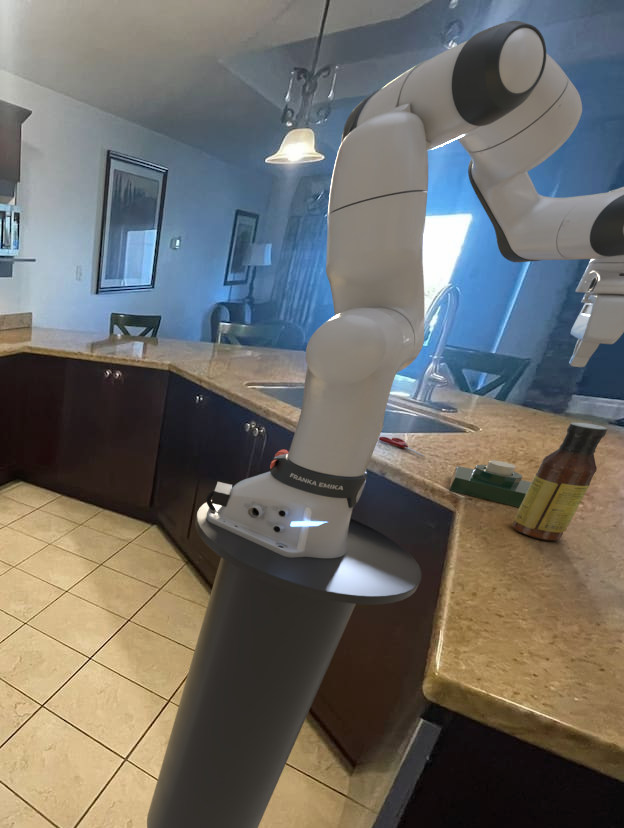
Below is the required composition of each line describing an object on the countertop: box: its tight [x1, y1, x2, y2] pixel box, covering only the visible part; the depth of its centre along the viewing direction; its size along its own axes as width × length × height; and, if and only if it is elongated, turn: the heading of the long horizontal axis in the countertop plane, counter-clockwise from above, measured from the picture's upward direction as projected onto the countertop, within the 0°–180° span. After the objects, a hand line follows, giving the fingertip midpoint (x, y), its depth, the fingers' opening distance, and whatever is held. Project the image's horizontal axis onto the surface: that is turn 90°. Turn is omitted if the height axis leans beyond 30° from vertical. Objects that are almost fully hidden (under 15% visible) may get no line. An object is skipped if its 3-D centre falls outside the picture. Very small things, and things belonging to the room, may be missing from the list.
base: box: [448, 464, 532, 509], centre depth 102 cm, size 12×10×5 cm
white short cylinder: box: [485, 459, 517, 476], centre depth 100 cm, size 4×4×2 cm
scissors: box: [378, 436, 424, 457], centre depth 127 cm, size 5×14×1 cm, turn 173°
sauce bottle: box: [512, 422, 608, 542], centre depth 83 cm, size 6×6×20 cm
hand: (575, 366), depth 87 cm, fingers closed
